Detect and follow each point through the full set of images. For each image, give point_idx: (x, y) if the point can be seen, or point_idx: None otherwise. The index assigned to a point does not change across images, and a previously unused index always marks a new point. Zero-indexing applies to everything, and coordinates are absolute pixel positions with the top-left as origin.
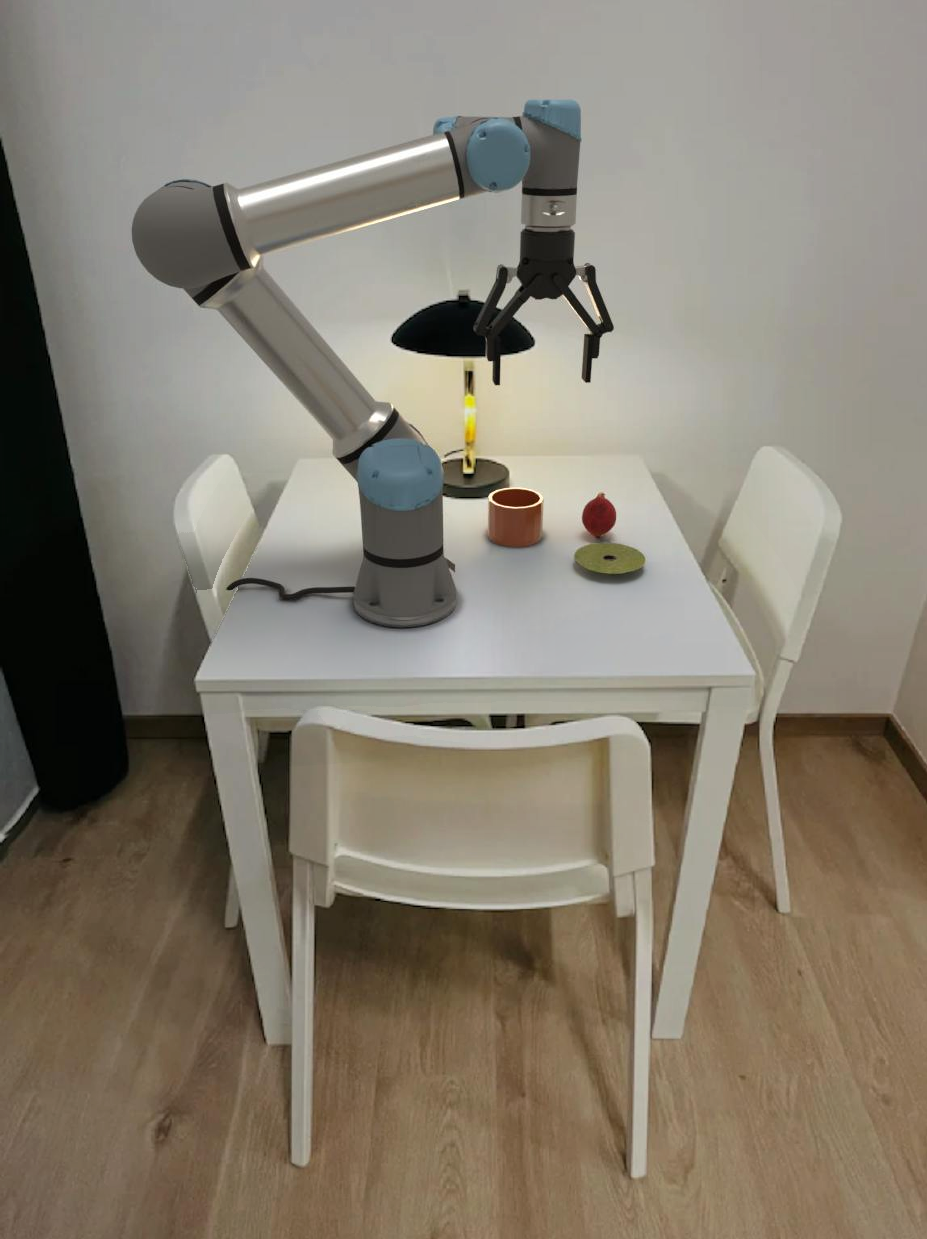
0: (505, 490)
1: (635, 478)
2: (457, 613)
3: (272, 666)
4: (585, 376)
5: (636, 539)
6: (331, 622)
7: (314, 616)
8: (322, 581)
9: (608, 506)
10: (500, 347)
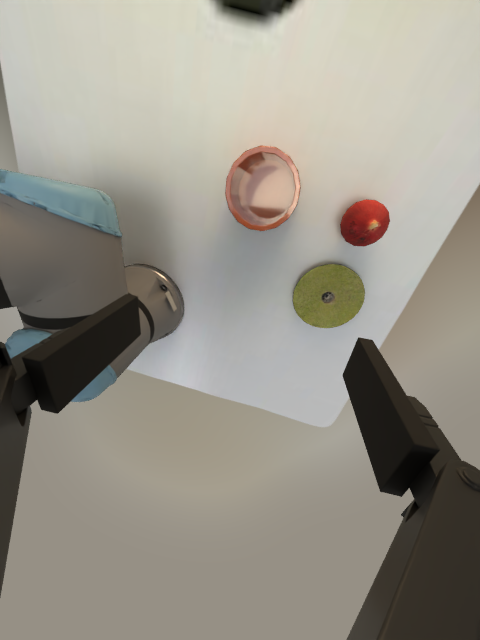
0: (257, 153)
1: None
2: (183, 325)
3: None
4: (347, 381)
5: (395, 240)
6: None
7: None
8: None
9: (373, 239)
10: (75, 396)
